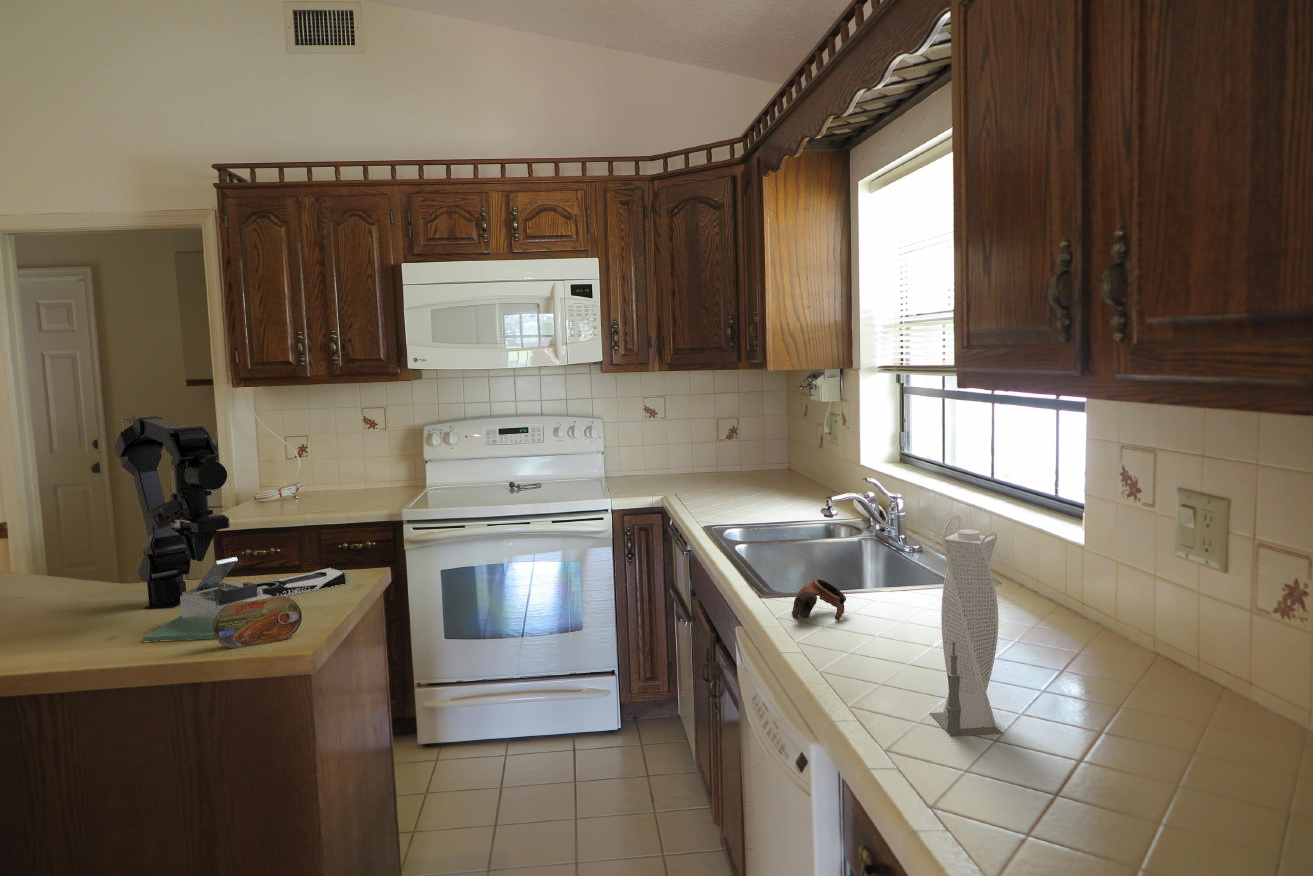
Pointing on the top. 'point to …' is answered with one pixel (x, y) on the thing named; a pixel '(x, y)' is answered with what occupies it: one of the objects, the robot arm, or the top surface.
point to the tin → (257, 621)
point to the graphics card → (304, 582)
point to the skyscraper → (968, 632)
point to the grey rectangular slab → (216, 574)
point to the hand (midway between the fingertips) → (197, 560)
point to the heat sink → (215, 601)
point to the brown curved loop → (808, 598)
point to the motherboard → (180, 631)
